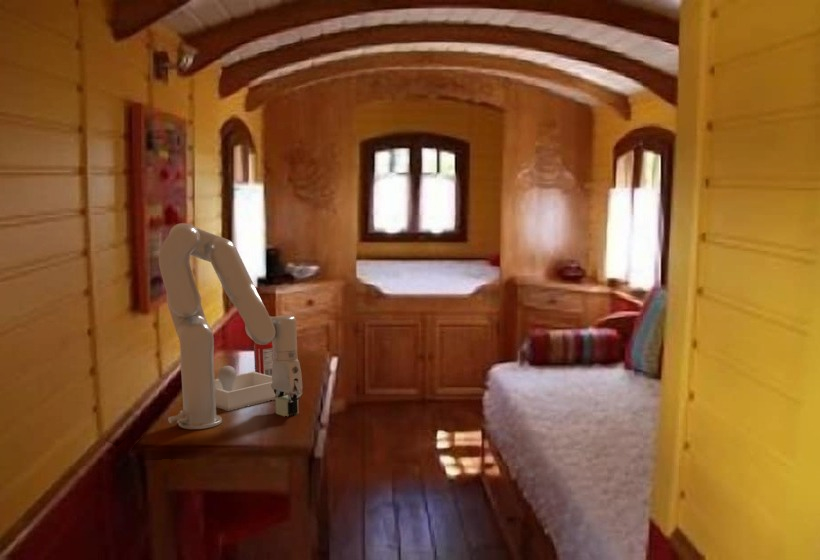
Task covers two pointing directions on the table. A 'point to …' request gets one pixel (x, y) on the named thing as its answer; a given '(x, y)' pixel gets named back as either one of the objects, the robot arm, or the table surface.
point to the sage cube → (283, 405)
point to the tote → (245, 391)
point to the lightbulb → (227, 377)
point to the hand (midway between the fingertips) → (287, 411)
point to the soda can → (263, 358)
